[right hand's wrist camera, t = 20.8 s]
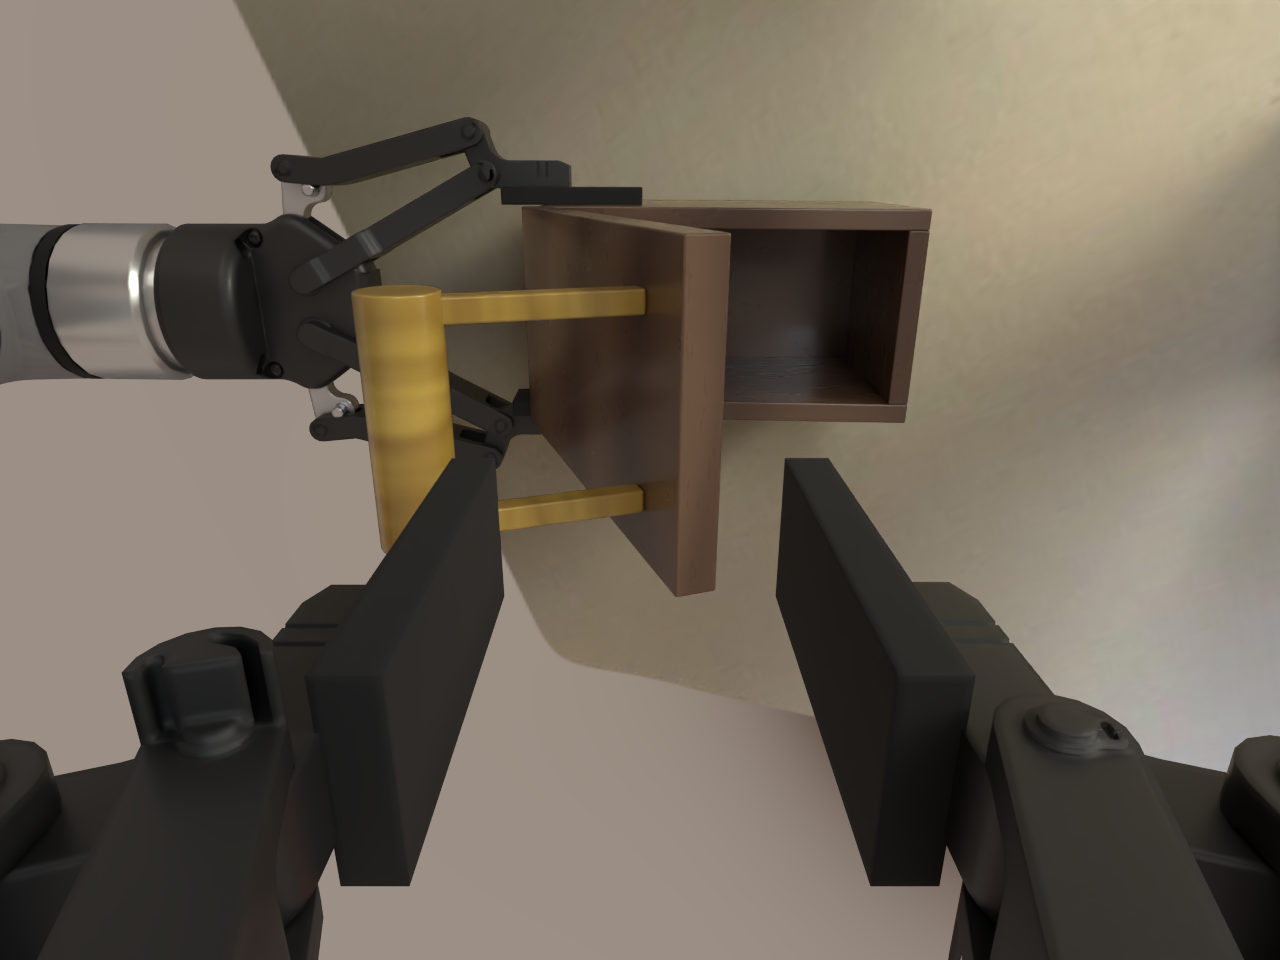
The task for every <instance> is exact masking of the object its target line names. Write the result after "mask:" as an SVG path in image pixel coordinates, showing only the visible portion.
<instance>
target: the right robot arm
mask: <svg viewBox="0 0 1280 960" xmlns="http://www.w3.org/2000/svg"><path fill="white" fill-rule="evenodd" d="M503 598H504V585H503V571H502V555H501V541H500V526H499V511H498V496H497V481H496V466H495V458H452V459H451V460H450V462H449V463H448V464H447V466H446V467H445V469H444V470H443V472H442V473H441V475H440V476H439V478H438V479H437V481H436V482H435V484H434V485H433V487H432V488H431V490H430V491H429V492H428V494H427V495H426V497H425V498H424V500H423V501H422V503H421V504H420V506H419V507H418V509H417V510H416V512H415V513H414V515H413V516H412V518H411V519H410V520H409V522H408V523H407V525H406V526H405V528H404V529H403V531H402V532H401V534H400V535H399V537H398V538H397V540H396V541H395V543H394V544H393V546H392V547H391V549H390V550H389V551H388V553H387V554H386V556H385V557H384V559H383V560H382V562H381V563H380V565H379V566H378V568H377V569H376V571H375V572H374V574H373V575H372V577H371V578H370V579H369V581H368V582H367V584H366V585H330V586H329V587H327V588H325V589H324V590H322V591H321V592H319V593H317V594H316V595H314V596H313V597H311V598H309V599H308V600H306V601H305V602H303V603H302V604H301V605H300V606H299V608H298V609H297V610H296V611H295V613H294V614H293V615H292V617H291V618H290V619H289V620H288V621H287V623H286V624H285V625H286V626H285V628H282V629H281V630H280V631H279V633H278V634H277V635H276V636H275V638H274V639H273V640H272V639H270V638H269V637H268V636H266V635H265V634H264V633H263V632H261V631H258V630H254V629H249V628H244V627H217V628H210V629H205V630H201V631H196V632H191V633H186V634H184V635H181V636H178V637H176V638H173V639H171V640H168V641H165V642H162V643H160V644H158V645H156V646H154V647H153V648H151V649H149V650H148V651H146V652H144V653H143V654H141V655H139V656H138V657H136V658H135V659H134V660H133V661H132V662H131V663H130V664H129V666H128V667H127V668H126V669H125V670H124V671H123V672H122V676H123V680H124V683H125V687H126V691H127V695H128V698H129V702H130V706H131V710H132V713H133V717H134V721H135V725H136V728H137V732H138V736H139V739H140V743H141V746H140V748H139V750H138V752H137V755H136V757H135V759H132V760H128V761H125V762H121V763H117V764H111V765H107V766H102V767H97V768H92V769H87V770H82V771H77V772H72V773H67V774H62V775H57V776H54V774H53V771H52V768H51V765H50V762H49V759H48V755H47V752H46V751H45V750H44V749H42V748H41V747H40V746H38V745H37V744H36V743H35V742H30V741H22V740H15V739H8V740H0V960H318V956H319V948H320V940H321V932H322V924H323V912H322V905H321V898H320V893H319V887H318V882H319V879H320V877H321V875H322V873H323V871H324V868H325V866H326V864H327V862H328V860H329V857H330V855H331V853H332V851H333V849H334V850H335V856H336V862H337V868H338V873H339V879H340V885H341V886H410V883H411V880H412V877H413V874H414V871H415V867H416V864H417V861H418V858H419V855H420V852H421V849H422V846H423V843H424V840H425V837H426V834H427V831H428V828H429V825H430V822H431V818H432V815H433V812H434V809H435V806H436V803H437V800H438V797H439V794H440V791H441V788H442V785H443V782H444V779H445V776H446V773H447V770H448V766H449V763H450V760H451V757H452V754H453V751H454V748H455V745H456V742H457V739H458V736H459V733H460V730H461V727H462V724H463V721H464V718H465V715H466V711H467V708H468V705H469V702H470V699H471V696H472V693H473V690H474V687H475V684H476V681H477V678H478V675H479V671H480V669H481V666H482V662H483V659H484V656H485V653H486V650H487V647H488V644H489V641H490V638H491V635H492V632H493V629H494V626H495V623H496V620H497V617H498V614H499V611H500V607H501V604H502V601H503ZM776 598H777V601H778V604H779V607H780V611H781V614H782V617H783V620H784V623H785V626H786V629H787V632H788V635H789V638H790V641H791V644H792V647H793V650H794V653H795V656H796V659H797V663H798V666H799V669H800V672H801V675H802V678H803V681H804V684H805V687H806V690H807V693H808V696H809V699H810V702H811V705H812V708H813V711H814V715H815V718H816V721H817V724H818V727H819V730H820V733H821V736H822V739H823V742H824V745H825V748H826V751H827V754H828V757H829V760H830V763H831V767H832V769H833V773H834V776H835V779H836V782H837V785H838V788H839V791H840V794H841V797H842V800H843V803H844V806H845V809H846V812H847V815H848V819H849V821H850V825H851V828H852V831H853V834H854V837H855V840H856V843H857V846H858V849H859V852H860V855H861V858H862V861H863V864H864V868H865V871H866V874H867V877H868V880H869V883H870V886H939V885H940V879H941V873H942V868H943V862H944V856H945V850H946V845H947V847H948V849H949V851H950V853H951V856H952V858H953V860H954V862H955V864H956V866H957V869H958V871H959V873H960V875H961V877H962V879H963V882H962V887H961V893H960V898H959V903H958V909H957V914H956V919H955V925H954V930H953V936H952V941H951V946H950V952H949V959H948V960H960V959H961V954H962V960H1280V737H1279V736H1271V735H1268V736H1261V737H1254V738H1247V739H1246V740H1244V741H1243V742H1242V743H1240V744H1239V745H1238V746H1237V747H1235V749H1234V752H1233V755H1232V758H1231V762H1230V765H1229V768H1228V771H1227V773H1226V772H1221V771H1216V770H1211V769H1206V768H1201V767H1196V766H1191V765H1186V764H1182V763H1177V762H1172V761H1167V760H1162V759H1158V758H1154V757H1150V756H1147V755H1144V753H1143V751H1142V749H1141V747H1140V745H1139V743H1138V742H1137V741H1136V740H1135V738H1134V737H1133V736H1132V734H1131V733H1130V732H1129V731H1128V729H1127V728H1126V727H1125V726H1123V725H1122V724H1120V723H1119V722H1118V721H1116V720H1115V719H1113V718H1112V717H1110V716H1109V715H1108V714H1106V713H1105V712H1103V711H1101V710H1098V709H1096V708H1094V707H1091V706H1089V705H1087V704H1085V703H1082V702H1080V701H1077V700H1073V699H1069V698H1065V697H1061V696H1056V695H1054V694H1053V693H1052V691H1051V690H1050V689H1049V688H1048V686H1047V685H1046V684H1045V683H1044V681H1043V680H1042V679H1041V678H1040V676H1039V675H1038V674H1037V673H1036V671H1035V670H1034V669H1033V668H1032V666H1031V665H1030V664H1029V663H1028V661H1027V660H1026V659H1025V658H1024V657H1023V655H1022V654H1021V653H1020V652H1019V650H1018V649H1017V648H1016V647H1015V645H1014V644H1013V643H1009V638H1008V637H1007V635H1006V634H1005V633H1004V632H1003V630H1002V629H1001V628H1000V627H999V625H995V621H994V619H993V618H992V617H991V616H990V614H989V613H988V612H987V611H986V609H985V608H984V607H983V606H982V604H981V603H980V602H979V601H978V600H977V599H975V598H974V597H972V596H971V595H969V594H967V593H966V592H964V591H962V590H961V589H959V588H958V587H956V586H954V585H953V584H951V583H949V582H912V581H911V579H910V578H909V577H908V575H907V574H906V572H905V571H904V569H903V568H902V566H901V565H900V563H899V562H898V560H897V559H896V557H895V556H894V554H893V553H892V551H891V550H890V549H889V547H888V546H887V544H886V543H885V541H884V540H883V538H882V537H881V535H880V534H879V532H878V531H877V529H876V528H875V526H874V525H873V523H872V522H871V520H870V519H869V518H868V516H867V515H866V513H865V512H864V510H863V509H862V507H861V506H860V504H859V503H858V501H857V500H856V498H855V497H854V495H853V494H852V492H851V491H850V490H849V488H848V487H847V485H846V484H845V482H844V481H843V479H842V478H841V476H840V475H839V473H838V472H837V470H836V469H835V467H834V466H833V464H832V463H831V462H830V460H829V459H828V458H785V466H784V481H783V496H782V511H781V526H780V541H779V555H778V570H777V585H776Z"/></svg>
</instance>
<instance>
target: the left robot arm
mask: <svg viewBox="0 0 1280 960" xmlns="http://www.w3.org/2000/svg"><path fill="white" fill-rule="evenodd" d="M464 152H465V154H466V156H467V159H468V161H469V164H470V166H471V167H469V168H468V169H466V170H464V171H462V172H461V173H459V174H457V175H456V176H454V177H452V178H451V179H449V180H447V181H446V182H444V183H442V184H441V185H439V186H437V187H436V188H434V189H432V190H431V191H429V192H427V193H426V194H424V195H422V196H420V197H419V198H417V199H415V200H414V201H412V202H410V203H409V204H407V205H405V206H404V207H402V208H400V209H399V210H397V211H395V212H394V213H392V214H390V215H389V216H387V217H385V218H383V219H382V220H380V221H378V222H377V223H375V224H373V225H372V226H370V227H368V228H366V229H364V230H362V231H360V232H358V233H356V234H354V235H353V236H351V237H349V238H348V239H344V238H343V237H341V236H340V235H338V234H337V233H335V232H334V231H332V230H331V229H330V228H328V227H327V226H325V225H324V224H322V223H321V222H319V221H318V220H316V219H315V218H314V217H312V216H311V211H312V208H313V207H314V205H316V204H317V203H321V202H325V201H327V200H329V199H330V198H331V196H332V191H333V187H332V185H347V184H352V183H357V182H361V181H364V180H368V179H371V178H375V177H379V176H382V175H386V174H389V173H393V172H396V171H400V170H404V169H407V168H411V167H414V166H418V165H421V164H425V163H429V162H432V161H436V160H439V159H443V158H446V157H450V156H454V155H457V154H461V153H464ZM271 171H272V174H273V175H274V177H275V178H276V179H278V180H279V181H281V185H282V203H283V215H281V216H279V217H277V218H276V219H274V220H273V221H271V222H269V223H266V224H184V225H180V226H178V227H177V228H175V227H173V226H171V225H169V224H107V223H101V224H100V223H83V224H68V225H28V224H0V384H3V383H7V382H13V381H20V380H32V379H73V378H91V379H173V380H183V379H187V378H191V377H192V376H196V377H199V378H201V379H285V380H290V381H292V382H295V383H297V384H299V385H301V386H303V387H306V388H308V389H309V393H310V397H311V401H312V405H313V409H314V413H315V417H316V419H315V420H314V421H313V422H312V423H311V424H310V427H309V429H310V433H311V435H312V436H313V437H314V438H315V439H316V440H319V441H332V440H343V439H354V438H357V439H361V440H365V441H368V433H367V425H366V416H365V408H364V404H359V402H358V400H357V399H356V398H355V397H354V396H353V395H351V394H346V393H342V392H340V391H339V390H337V389H336V387H335V386H334V383H333V381H334V380H336V379H337V378H338V377H340V376H341V375H342V374H344V373H345V372H346V371H347V370H349V369H350V368H352V369H354V370H357V371H359V372H360V366H359V358H358V350H357V341H356V333H355V325H354V316H353V308H352V299H351V293H352V291H354V290H357V289H361V288H366V287H375V286H381V285H382V284H381V274H380V269H376V267H375V265H374V263H373V261H375V260H376V259H378V258H380V257H382V256H383V255H385V254H387V253H388V252H390V251H392V250H393V249H394V248H396V247H397V246H399V245H401V244H402V243H404V242H406V241H408V240H409V239H411V238H413V237H414V236H416V235H418V234H419V233H421V232H423V231H425V230H426V229H428V228H430V227H431V226H433V225H435V224H436V223H438V222H440V221H442V220H443V219H445V218H447V217H448V216H450V215H452V214H454V213H455V212H457V211H459V210H460V209H462V208H464V207H465V206H467V205H469V204H471V203H472V202H474V201H476V200H477V199H479V198H481V197H483V196H484V195H486V194H488V193H489V192H491V191H493V190H494V189H496V188H501V202H502V205H546V204H623V205H642V187H572V181H571V166H570V165H568V164H566V163H563V162H561V161H513V160H505V159H503V158H502V157H501V156H500V155H499V154H498V153H497V151H496V149H495V146H494V144H493V141H492V139H491V136H490V130H489V128H488V126H487V125H486V124H484V123H483V122H481V121H479V120H476V119H473V118H470V117H465V118H461V119H458V120H454V121H450V122H447V123H443V124H440V125H436V126H433V127H429V128H426V129H422V130H419V131H415V132H412V133H408V134H405V135H401V136H398V137H394V138H391V139H387V140H383V141H380V142H376V143H373V144H369V145H366V146H362V147H359V148H355V149H352V150H348V151H345V152H341V153H338V154H334V155H331V156H327V157H324V158H319V157H310V156H299V155H284V154H282V155H277V156H276V157H274V158H273V160H272V162H271ZM448 374H449V387H450V400H451V412H452V414H453V415H455V416H457V417H459V418H461V419H463V420H465V421H467V422H470V423H472V424H474V425H476V426H478V427H480V428H482V429H484V430H486V431H483V430H479V429H475V428H470V427H466V426H462V425H458V424H454V423H452V425H453V437H454V450H455V458H495V466H496V468H498V467H499V466H500V464H501V462H502V460H503V458H504V456H505V453H506V451H507V448H508V445H509V442H510V439H511V438H512V437H514V436H516V435H520V434H541V432H540V431H539V430H538V429H537V428H536V426H535V425H534V424H533V423H532V421H531V408H530V389H519V390H518V392H517V394H516V396H515V398H514V400H513V402H512V403H511V402H509V401H507V400H505V399H503V398H501V397H499V396H497V395H495V394H493V393H491V392H489V391H487V390H485V389H483V388H481V387H479V386H477V385H475V384H473V383H471V382H469V381H467V380H465V379H463V378H461V377H459V376H457V375H455V374H453V373H451V372H449V371H448Z"/></svg>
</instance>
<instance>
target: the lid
mask: <svg viewBox="0 0 1280 960" xmlns="http://www.w3.org/2000/svg"><path fill="white" fill-rule="evenodd" d="M522 223H523V246H524V269H525V290H513V291H488V292H462V293H442V291H441V289H439V288H436V287H432V286H422V285H388V286H375V287H366V288H361V289H357V290H354V291H352V293H351V299H352V308H353V316H354V325H355V333H356V341H357V350H358V358H359V366H360V374H361V383H362V391H363V400H364V408H365V416H366V425H367V433H368V442H369V450H370V458H371V467H372V475H373V483H374V492H375V500H376V508H377V517H378V525H379V533H380V542H381V548H382V550H383V551H384V553H386V554H387V553H388V551H389V550H390V549H391V547H392V546H393V544H394V543H395V541H396V540H397V538H398V537H399V535H400V534H401V532H402V531H403V529H404V528H405V526H406V525H407V523H408V522H409V520H410V519H411V518H412V516H413V515H414V513H415V512H416V510H417V509H418V507H419V506H420V504H421V503H422V501H423V500H424V498H425V497H426V495H427V494H428V492H429V491H430V490H431V488H432V487H433V485H434V484H435V482H436V481H437V479H438V478H439V476H440V475H441V473H442V472H443V470H444V469H445V467H446V466H447V464H448V463H449V462H450V460H451V459H452V458H455V450H454V437H453V425H452V412H451V400H450V387H449V374H448V362H447V349H446V337H445V325H460V324H479V323H499V322H518V321H527V339H528V362H529V385H530V408H531V421H532V423H533V424H534V425H535V426H536V428H537V429H538V430H539V431H540V432H541V434H542V435H543V436H544V437H545V439H546V440H547V441H548V442H549V443H550V445H551V446H552V447H553V448H554V450H555V451H556V452H557V453H558V454H559V456H560V457H561V458H562V459H563V460H564V462H565V463H566V464H567V465H568V467H569V468H570V469H571V470H572V471H573V473H574V474H575V475H576V476H577V478H578V479H579V480H580V481H581V482H582V484H583V485H584V486H585V487H586V488H587V490H580V491H572V492H564V493H556V494H548V495H540V496H532V497H524V498H516V499H507V500H499V501H498V511H499V526H500V531H508V530H515V529H522V528H530V527H537V526H544V525H552V524H559V523H566V522H574V521H581V520H588V519H595V518H603V517H610V518H611V519H612V520H613V521H614V523H615V524H616V525H617V526H618V527H619V529H620V530H621V531H622V532H623V534H624V535H625V536H626V537H627V538H628V540H629V541H630V542H631V543H632V544H633V546H634V547H635V548H636V549H637V551H638V552H639V553H640V554H641V555H642V557H643V558H644V559H645V560H646V562H647V563H648V564H649V565H650V566H651V568H652V569H653V570H654V571H655V572H656V574H657V575H658V576H659V577H660V579H661V580H662V581H663V582H664V583H665V585H666V586H667V587H668V588H669V590H670V591H671V592H672V593H673V594H674V596H676V597H680V596H685V595H691V594H697V593H702V592H708V591H713V590H715V579H716V557H717V535H718V512H719V490H720V468H721V446H722V424H723V402H724V380H725V358H726V335H727V313H728V291H729V269H730V247H731V234H730V233H728V232H721V231H714V230H708V229H701V228H694V227H687V226H680V225H673V224H666V223H659V222H652V221H645V220H639V219H632V218H625V217H618V216H611V215H604V214H597V213H590V212H583V211H576V210H570V209H563V208H556V207H549V206H530V207H522Z"/></svg>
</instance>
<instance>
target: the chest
mask: <svg viewBox="0 0 1280 960" xmlns="http://www.w3.org/2000/svg"><path fill="white" fill-rule="evenodd" d="M542 206H549V207H556V208H563V209H570V210H576V211H583V212H590V213H597V214H604V215H611V216H618V217H625V218H632V219H639V220H645V221H652V222H659V223H666V224H673V225H680V226H687V227H694V228H701V229H708V230H714V231H721V232H728V233H730V234H731V247H730V269H729V291H728V313H727V335H726V358H725V380H724V402H723V419H727V420H780V421H833V422H886V423H904V422H905V417H906V409H907V405H906V404H907V402H908V394H909V386H910V379H911V371H912V363H913V355H914V348H915V340H916V332H917V325H918V317H919V309H920V301H921V294H922V286H923V278H924V271H925V263H926V255H927V247H928V240H929V229H930V223H931V215H932V210H931V209H925V208H917V207H909V206H901V205H893V204H885V203H878V202H841V201H721V200H642V205H623V204H546V205H542Z"/></svg>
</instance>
